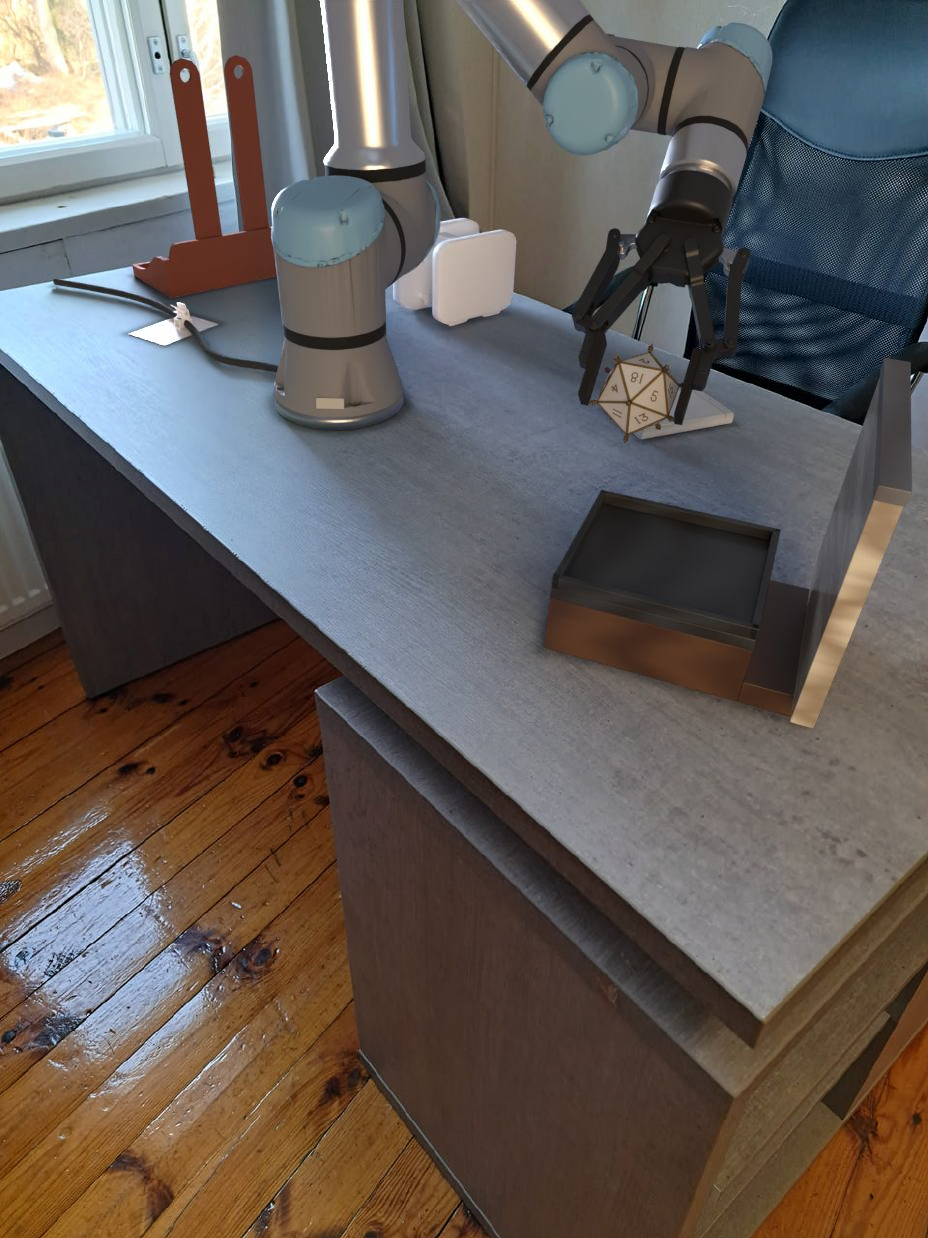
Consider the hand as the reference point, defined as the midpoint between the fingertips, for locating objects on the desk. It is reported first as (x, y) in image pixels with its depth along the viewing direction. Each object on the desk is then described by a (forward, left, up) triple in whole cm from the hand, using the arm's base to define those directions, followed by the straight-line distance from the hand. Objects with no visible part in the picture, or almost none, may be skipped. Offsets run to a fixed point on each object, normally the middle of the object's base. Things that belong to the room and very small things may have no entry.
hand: (629, 409), depth 82 cm
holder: (+11, -19, -9) cm, 24 cm away
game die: (0, +3, -4) cm, 5 cm away
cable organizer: (-36, +42, -10) cm, 56 cm away
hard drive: (+1, +20, -10) cm, 22 cm away
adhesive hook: (-68, +18, -10) cm, 71 cm away
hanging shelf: (-76, +42, -10) cm, 88 cm away
